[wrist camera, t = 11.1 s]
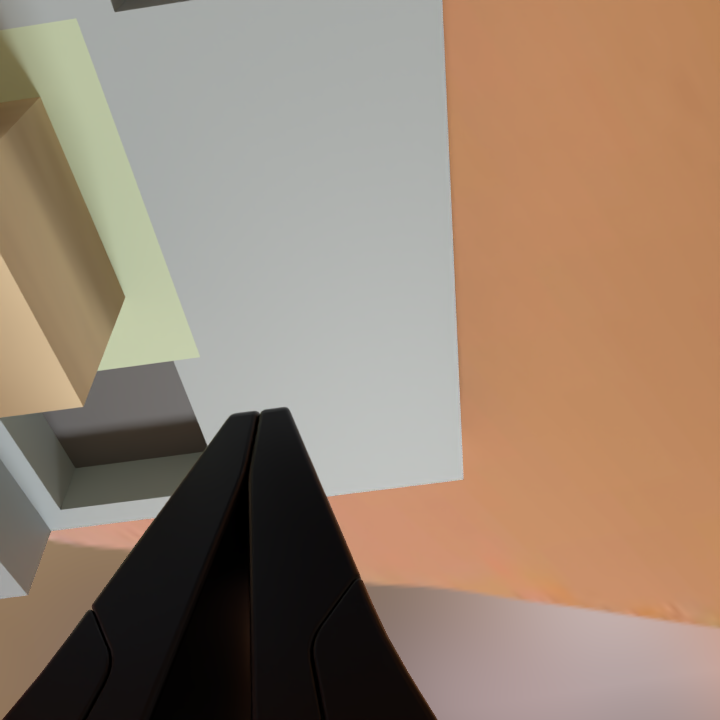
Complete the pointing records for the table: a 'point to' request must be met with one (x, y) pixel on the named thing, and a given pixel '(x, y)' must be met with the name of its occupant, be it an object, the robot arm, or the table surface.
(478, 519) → the table surface
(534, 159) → the table surface
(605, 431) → the table surface
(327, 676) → the robot arm
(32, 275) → the maple block
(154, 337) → the tray
